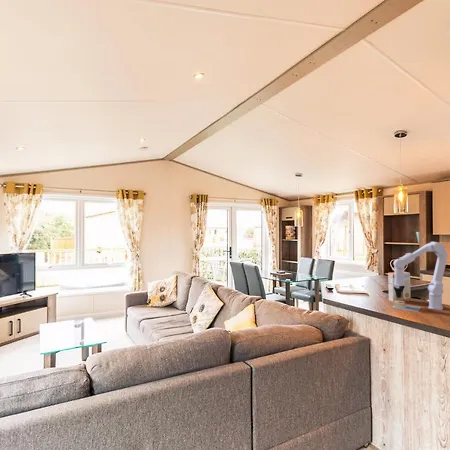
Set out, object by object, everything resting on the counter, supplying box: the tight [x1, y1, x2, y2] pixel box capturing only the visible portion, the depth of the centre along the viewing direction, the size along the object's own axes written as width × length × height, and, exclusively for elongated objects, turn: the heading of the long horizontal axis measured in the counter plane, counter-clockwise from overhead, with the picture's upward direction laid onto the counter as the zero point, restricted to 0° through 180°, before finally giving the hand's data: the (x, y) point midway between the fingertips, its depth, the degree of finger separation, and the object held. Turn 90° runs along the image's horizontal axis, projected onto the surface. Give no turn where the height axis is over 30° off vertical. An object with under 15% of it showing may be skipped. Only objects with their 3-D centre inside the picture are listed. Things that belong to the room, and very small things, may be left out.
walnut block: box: [396, 292, 403, 301], centre depth 226 cm, size 4×4×5 cm
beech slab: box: [393, 301, 406, 308], centre depth 226 cm, size 6×6×3 cm
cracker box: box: [387, 271, 412, 303], centre depth 242 cm, size 14×6×21 cm, turn 100°
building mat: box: [390, 304, 422, 313], centre depth 223 cm, size 14×16×1 cm
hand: (399, 297), depth 226 cm, fingers closed on walnut block, 4 cm apart
